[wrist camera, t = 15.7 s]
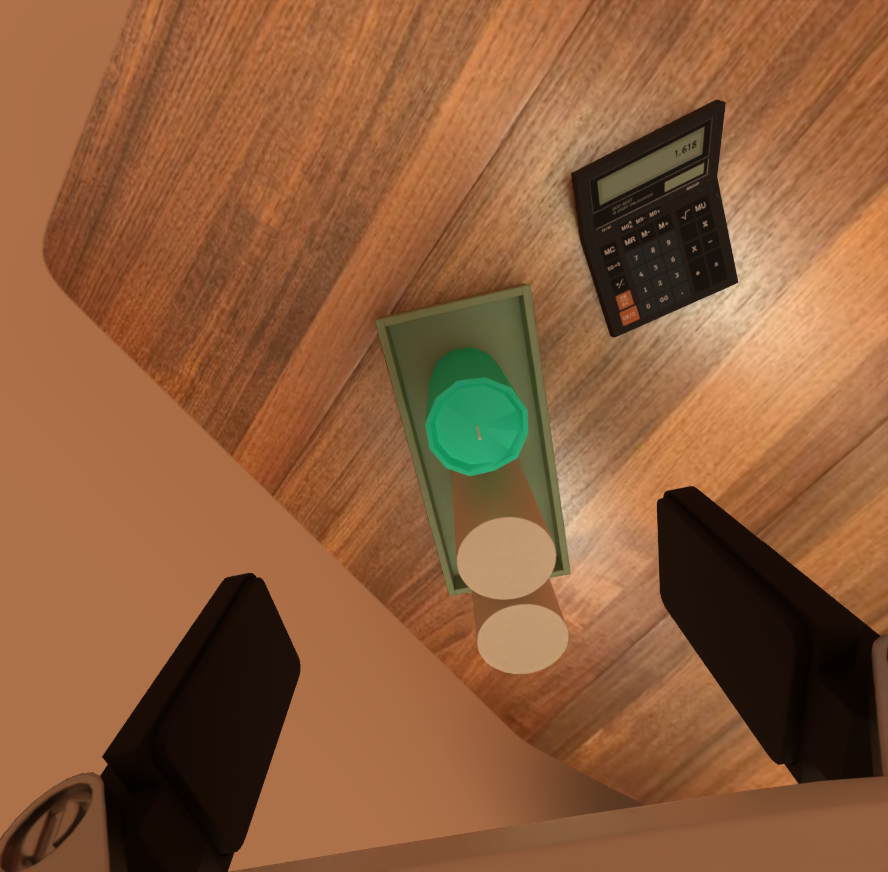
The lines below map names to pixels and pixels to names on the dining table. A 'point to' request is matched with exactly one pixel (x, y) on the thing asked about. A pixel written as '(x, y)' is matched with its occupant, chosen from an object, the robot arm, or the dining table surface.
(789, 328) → the dining table surface
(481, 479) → the cream candle
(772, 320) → the dining table surface
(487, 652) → the cream candle
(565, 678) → the dining table surface
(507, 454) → the candle
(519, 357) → the tray
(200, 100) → the dining table surface
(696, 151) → the calculator
